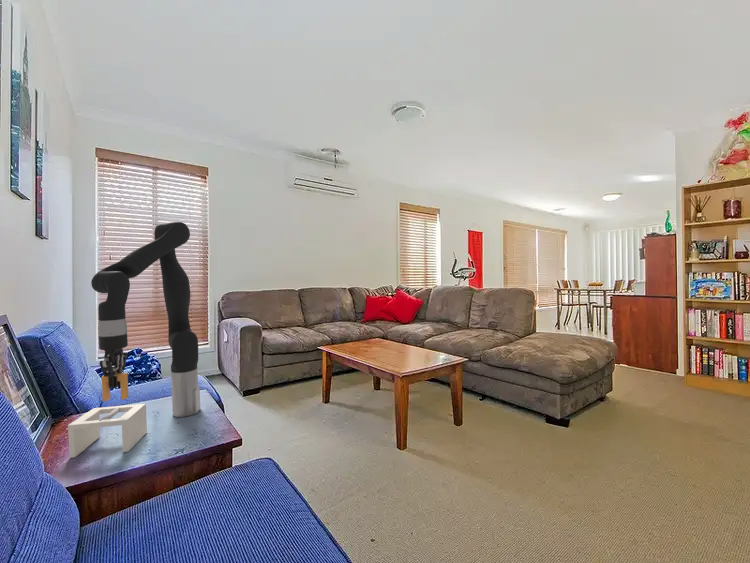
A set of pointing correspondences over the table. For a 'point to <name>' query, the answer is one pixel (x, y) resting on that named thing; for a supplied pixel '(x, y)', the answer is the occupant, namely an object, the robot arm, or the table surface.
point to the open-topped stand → (89, 426)
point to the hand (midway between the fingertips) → (115, 386)
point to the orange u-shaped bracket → (123, 384)
